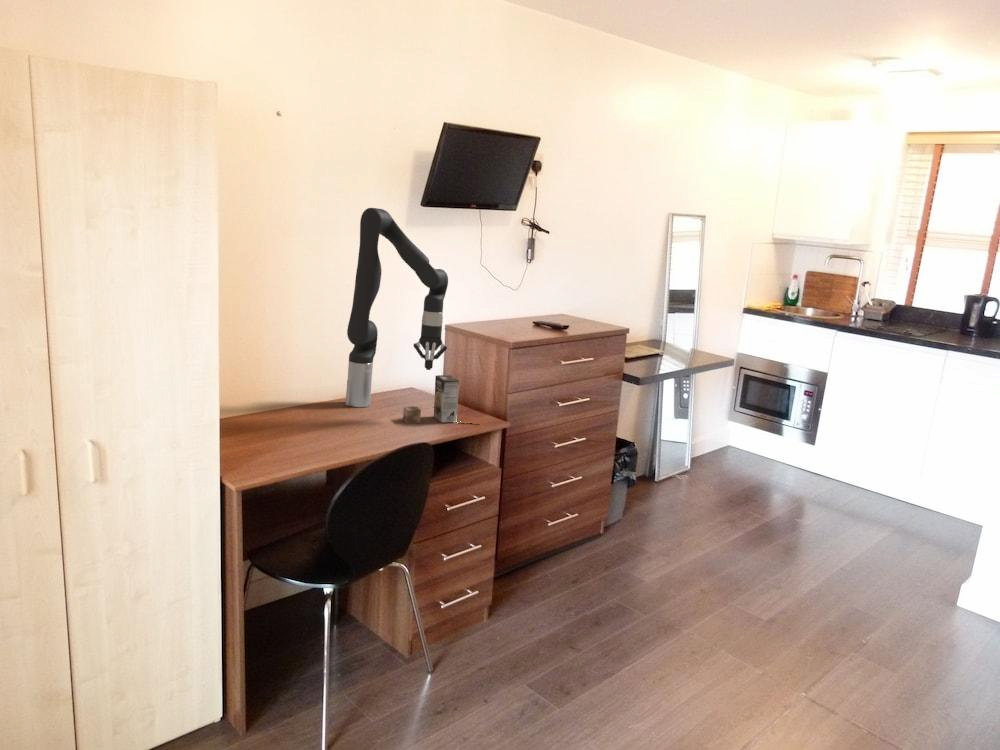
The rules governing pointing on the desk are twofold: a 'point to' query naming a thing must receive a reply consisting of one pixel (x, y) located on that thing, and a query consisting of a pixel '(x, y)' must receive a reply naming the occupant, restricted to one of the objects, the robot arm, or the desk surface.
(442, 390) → the coffee box
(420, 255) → the robot arm
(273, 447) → the desk surface
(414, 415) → the walnut block
